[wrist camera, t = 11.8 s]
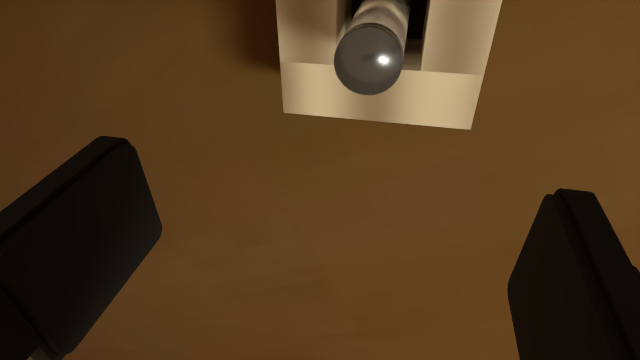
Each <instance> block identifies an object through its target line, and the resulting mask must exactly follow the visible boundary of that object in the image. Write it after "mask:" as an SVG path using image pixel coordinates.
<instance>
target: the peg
mask: <svg viewBox="0 0 640 360" xmlns="http://www.w3.org/2000/svg"><path fill="white" fill-rule="evenodd" d="M410 7H411V0H363V1H362V3H361V4H360V6H359V8H358V10H357V12H356V13H355V15H354V17H353V19H352V21H351V22H350V24H349V26H348V28H347V30H346V32H345V33H344V35H343V37H342V39H341V41H340V42H339V44H338V46H337V48H336V51H335V55H334V68H335V72H336V75H337V77H338V78H339V80H340V82H341V83H342V84H343V85H344V86H345V87H346V88H348V89H349V90H351V91H352V92H355V93H357V94H361V95H376V94H379V93H382V92H384V91H386V90H388V89H389V88H390V87H391V86H393V85H394V83H395V82H396V81H397V79H398V78H399V76H400V73H401V70H402V65H403V58H404V50H405V43H406V36H407V29H408V21H409V14H410Z"/></svg>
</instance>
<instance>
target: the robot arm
mask: <svg viewBox="0 0 640 360" xmlns="http://www.w3.org/2000/svg"><path fill="white" fill-rule="evenodd" d="M161 233H162V224H161V221H160V218H159V216H158V213H157V210H156V207H155V204H154V201H153V198H152V195H151V192H150V189H149V186H148V183H147V180H146V178H145V175H144V172H143V169H142V166H141V163H140V160H139V157H138V154H137V151H136V149H135V148H134V147H133V146H132V145H131V144H130V142H129V141H128V140H127V139H124V138H117V137H109V136H100V137H98V138H96V139H95V140H93V141H92V142H91V143H90V144H88V145H87V146H86V147H84V148H83V149H82V150H80V151H79V152H78V153H76V154H75V155H74V156H73V157H71V158H70V159H69V160H67V161H66V162H65V163H63V164H62V165H61V166H59V167H58V168H57V169H56V170H54V171H53V172H52V173H50V174H49V175H48V176H46V177H45V178H44V179H42V180H41V181H40V182H39V183H37V184H36V185H35V186H33V187H32V188H31V189H29V190H28V191H27V192H25V193H24V194H23V195H21V196H20V197H19V198H18V199H16V200H15V201H14V202H12V203H11V204H10V205H8V206H7V207H6V208H4V209H3V210H2V211H1V212H0V360H27V359H28V358H29V356H31V358H32V359H33V360H62V359H63V358H64V356H65V355H66V354H68V353H70V352H72V351H73V350H74V349H75V348H76V347H77V346H78V345H79V343H80V342H81V341H82V339H83V338H84V337H85V335H86V334H87V333H88V331H89V330H90V329H91V327H92V326H93V325H94V324H95V322H96V321H97V320H98V318H99V317H100V316H101V314H102V313H103V312H104V310H105V309H106V308H107V306H108V305H109V304H110V303H111V301H112V300H113V299H114V297H115V296H116V295H117V293H118V292H119V291H120V289H121V288H122V287H123V285H124V284H125V283H126V282H127V280H128V279H129V278H130V276H131V275H132V274H133V272H134V271H135V270H136V268H137V267H138V266H139V265H140V263H141V262H142V261H143V259H144V258H145V257H146V255H147V254H148V253H149V251H150V250H151V249H152V247H153V246H154V245H155V244H156V242H157V241H158V240H159V238H160V236H161ZM508 299H509V305H510V310H511V315H512V321H513V326H514V331H515V336H516V342H517V347H518V352H519V358H520V360H640V272H639V271H638V269H637V268H636V267H634V266H633V265H632V264H631V262H630V260H629V258H628V256H627V254H626V252H625V251H624V249H623V247H622V245H621V243H620V241H619V239H618V237H617V235H616V234H615V232H614V230H613V228H612V226H611V224H610V222H609V220H608V218H607V217H606V215H605V213H604V211H603V209H602V207H601V205H600V203H599V202H598V200H597V198H596V196H595V195H594V193H592V192H588V191H579V190H571V189H562V188H560V189H558V190H557V191H556V192H555V193H554V195H552V194H547V195H546V196H545V197H544V199H543V201H542V203H541V205H540V208H539V210H538V212H537V215H536V217H535V220H534V222H533V224H532V227H531V229H530V231H529V234H528V236H527V238H526V241H525V243H524V246H523V248H522V250H521V253H520V255H519V257H518V260H517V262H516V265H515V267H514V269H513V272H512V274H511V276H510V279H509V282H508Z"/></svg>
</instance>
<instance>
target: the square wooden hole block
mask: <svg viewBox="0 0 640 360" xmlns="http://www.w3.org/2000/svg"><path fill="white" fill-rule="evenodd" d="M501 3H502V0H427V5H426V12H425V19H424V26H423V33H422V39H406V43H405V50H404V58H403V65H402V70H401V73H400V76H399V78H398V79H397V81H396V82H395V83H394V85H393V86H391V87H390V88H389V89H388V90H386V91H384V92H382V93H379V94H376V95H361V94H357V93H355V92H352V91H351V90H349V89H348V88H346V87H345V86H344V85H343V84H342V83H341V82H340V80H339V78H338V77H337V75H336V72H335V68H334V55H335V51H336V48H337V46H338V44H339V42H340V41H341V39H342V37H343V35H344V33H345V32H346V30H347V28H348V26H349V24H350V22H351V15H352V0H276V12H277V26H278V40H279V54H280V67H281V81H282V95H283V109H284V113H294V114H305V115H315V116H326V117H337V118H348V119H359V120H370V121H381V122H392V123H403V124H414V125H425V126H436V127H447V128H458V129H469V130H470V129H471V125H472V121H473V117H474V113H475V109H476V105H477V101H478V97H479V93H480V89H481V84H482V80H483V76H484V72H485V68H486V64H487V60H488V56H489V52H490V48H491V44H492V40H493V36H494V32H495V28H496V23H497V19H498V15H499V11H500V7H501Z"/></svg>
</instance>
